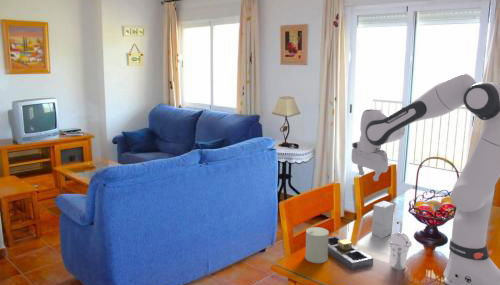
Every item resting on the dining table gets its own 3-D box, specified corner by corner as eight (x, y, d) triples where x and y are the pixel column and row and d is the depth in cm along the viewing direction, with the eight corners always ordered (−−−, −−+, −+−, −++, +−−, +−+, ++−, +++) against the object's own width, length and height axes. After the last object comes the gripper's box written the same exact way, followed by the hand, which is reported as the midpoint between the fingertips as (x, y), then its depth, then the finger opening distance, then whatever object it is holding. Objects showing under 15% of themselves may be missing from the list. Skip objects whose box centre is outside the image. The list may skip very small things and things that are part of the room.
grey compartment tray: (372, 265, 170) (373, 258, 169) (351, 270, 166) (352, 262, 165) (337, 242, 191) (337, 235, 191) (317, 245, 187) (318, 239, 187)
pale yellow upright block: (351, 256, 177) (351, 242, 176) (343, 258, 176) (343, 244, 175) (345, 252, 181) (345, 239, 180) (337, 254, 180) (337, 240, 178)
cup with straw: (414, 268, 167) (418, 219, 163) (398, 274, 163) (401, 223, 159) (397, 259, 174) (400, 212, 170) (381, 265, 170) (384, 216, 166)
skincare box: (381, 230, 205) (383, 200, 202) (392, 234, 200) (394, 203, 197) (371, 234, 200) (372, 203, 197) (382, 238, 195) (384, 207, 192)
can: (301, 255, 178) (301, 227, 176) (320, 251, 182) (321, 224, 179) (311, 264, 170) (312, 236, 168) (332, 261, 173) (333, 232, 171)
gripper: (392, 150, 176) (390, 183, 179) (361, 141, 195) (359, 171, 197) (380, 151, 174) (378, 184, 176) (349, 142, 192) (348, 173, 195)
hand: (368, 177), depth 187 cm, fingers open, 8 cm apart
